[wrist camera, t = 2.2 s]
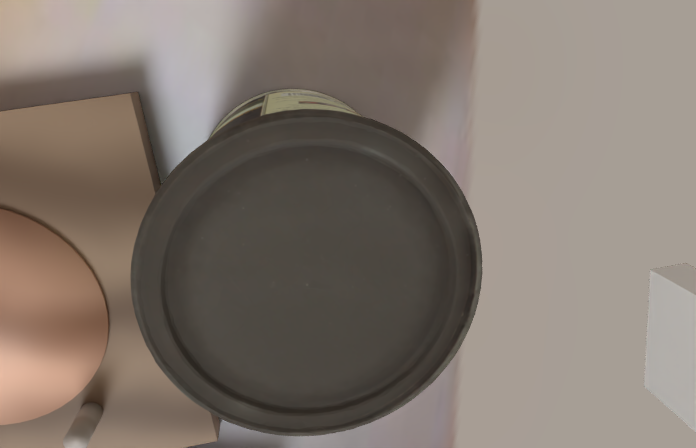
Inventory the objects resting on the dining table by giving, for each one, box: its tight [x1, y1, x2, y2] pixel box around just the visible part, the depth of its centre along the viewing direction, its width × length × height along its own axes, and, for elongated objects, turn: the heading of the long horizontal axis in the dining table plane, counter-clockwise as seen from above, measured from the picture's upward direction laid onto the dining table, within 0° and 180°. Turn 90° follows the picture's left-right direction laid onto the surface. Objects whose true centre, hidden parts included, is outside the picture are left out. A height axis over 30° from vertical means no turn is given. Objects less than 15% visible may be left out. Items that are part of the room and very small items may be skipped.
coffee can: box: [130, 89, 482, 436], centre depth 22 cm, size 10×10×14 cm
